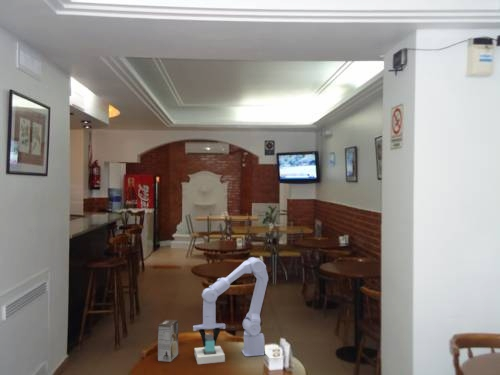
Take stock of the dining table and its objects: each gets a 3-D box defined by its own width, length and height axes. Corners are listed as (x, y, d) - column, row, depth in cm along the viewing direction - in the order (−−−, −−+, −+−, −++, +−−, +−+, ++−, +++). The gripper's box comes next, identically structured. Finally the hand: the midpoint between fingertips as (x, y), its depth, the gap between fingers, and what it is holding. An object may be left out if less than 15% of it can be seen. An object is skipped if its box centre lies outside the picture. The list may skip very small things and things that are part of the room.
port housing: (220, 352, 204) (220, 345, 204) (224, 361, 192) (224, 354, 192) (194, 354, 201) (194, 348, 201) (197, 364, 189) (197, 357, 189)
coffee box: (165, 353, 202) (165, 319, 202) (178, 354, 201) (178, 319, 201) (157, 361, 193) (157, 324, 193) (171, 362, 192) (171, 325, 192)
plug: (212, 346, 200) (212, 333, 200) (214, 351, 194) (214, 337, 194) (203, 347, 199) (203, 334, 199) (205, 351, 193) (205, 338, 193)
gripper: (223, 311, 202) (223, 341, 202) (192, 314, 199) (192, 343, 199) (226, 316, 196) (226, 346, 195) (194, 318, 192) (194, 349, 192)
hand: (209, 345), depth 197 cm, fingers closed on plug, 4 cm apart
